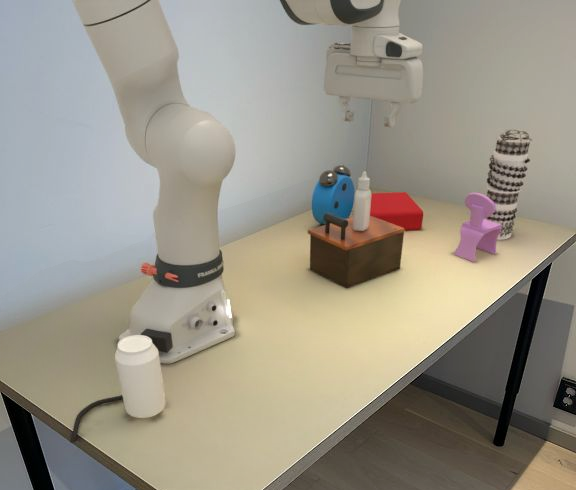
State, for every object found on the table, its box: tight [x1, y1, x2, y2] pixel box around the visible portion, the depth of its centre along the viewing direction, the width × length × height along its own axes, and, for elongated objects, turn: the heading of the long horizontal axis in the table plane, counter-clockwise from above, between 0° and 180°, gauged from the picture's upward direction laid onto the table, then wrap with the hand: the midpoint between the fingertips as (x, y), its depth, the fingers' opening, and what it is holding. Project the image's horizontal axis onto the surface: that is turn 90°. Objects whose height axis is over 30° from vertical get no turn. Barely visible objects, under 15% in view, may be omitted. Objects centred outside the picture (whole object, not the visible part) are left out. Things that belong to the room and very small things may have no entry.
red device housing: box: [370, 191, 424, 231], centre depth 160 cm, size 18×14×5 cm
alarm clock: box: [311, 164, 356, 227], centre depth 154 cm, size 13×6×15 cm, turn 146°
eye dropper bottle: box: [352, 171, 372, 231], centre depth 126 cm, size 4×6×12 cm
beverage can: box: [114, 335, 167, 419], centre depth 87 cm, size 6×6×12 cm
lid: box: [307, 213, 405, 250], centre depth 128 cm, size 17×13×5 cm
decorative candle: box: [485, 129, 533, 241], centre depth 146 cm, size 9×9×25 cm
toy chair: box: [452, 192, 502, 263], centre depth 137 cm, size 8×9×15 cm
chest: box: [309, 231, 405, 289], centre depth 132 cm, size 17×13×9 cm
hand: (368, 123), depth 117 cm, fingers open, 8 cm apart
